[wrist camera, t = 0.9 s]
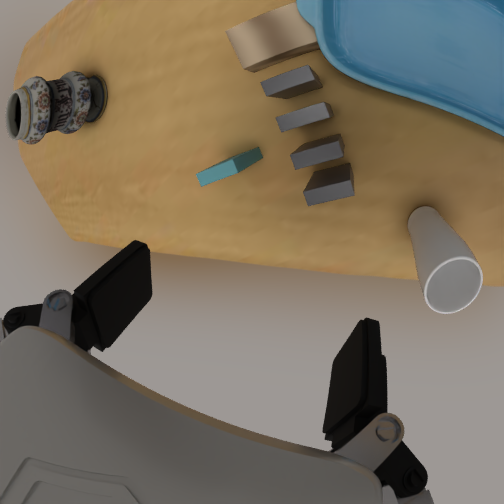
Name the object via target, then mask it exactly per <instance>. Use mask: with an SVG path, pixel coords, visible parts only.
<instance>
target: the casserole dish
mask: <svg viewBox="0 0 504 504" xmlns="http://www.w3.org/2000/svg"><path fill="white" fill-rule="evenodd" d="M296 3H297V8H298V11H299V13H300V15H301V16H302V17H303V18H304V19H305V20H306V21H307V22H308V23H309V24H310V25H311V26H313V28H314V29H315V33H316V37H317V41H318V44H319V47H320V49H321V51H322V53H323V55H324V56H325V58H326V59H327V60H328V61H329V62H330V63H331V64H332V65H333V66H334V67H335V68H336V69H338V70H339V71H341V72H342V73H344V74H346V75H347V76H349V77H351V78H353V79H355V80H357V81H360V82H362V83H365V84H367V85H370V86H372V87H375V88H378V89H381V90H384V91H387V92H390V93H394V94H397V95H400V96H403V97H406V98H409V99H413V100H416V101H419V102H422V103H425V104H428V105H431V106H434V107H437V108H439V109H442V110H445V111H448V112H450V113H453V114H455V115H458V116H460V117H463V118H465V119H467V120H470V121H472V122H474V123H476V124H479V125H481V126H483V127H485V128H487V129H489V130H491V131H493V132H495V133H497V134H499V135H501V136H503V137H504V0H296Z"/></svg>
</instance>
